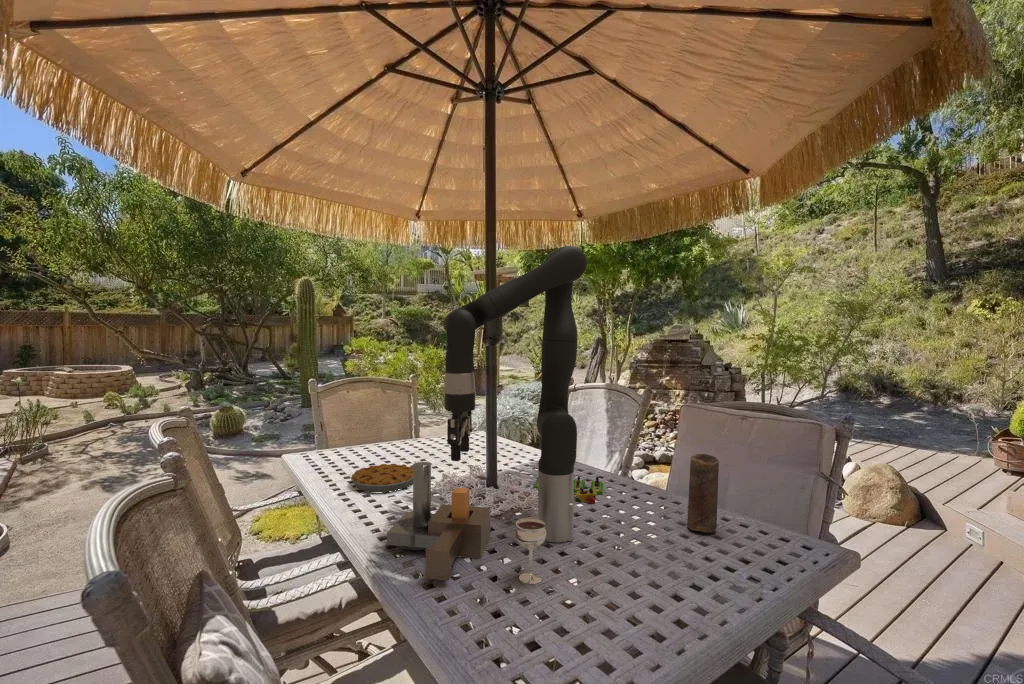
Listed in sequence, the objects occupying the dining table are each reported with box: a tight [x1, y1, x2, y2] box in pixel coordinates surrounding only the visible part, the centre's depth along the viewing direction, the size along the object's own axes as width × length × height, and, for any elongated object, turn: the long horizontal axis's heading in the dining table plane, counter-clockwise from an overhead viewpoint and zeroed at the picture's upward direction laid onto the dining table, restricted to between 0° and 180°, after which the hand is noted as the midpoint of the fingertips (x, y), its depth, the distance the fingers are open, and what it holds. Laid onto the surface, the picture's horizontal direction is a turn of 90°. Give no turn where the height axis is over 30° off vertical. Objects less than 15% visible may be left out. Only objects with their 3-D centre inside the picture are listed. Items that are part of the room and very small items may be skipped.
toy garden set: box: [532, 475, 604, 505], centre depth 158 cm, size 23×19×5 cm
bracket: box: [425, 504, 492, 581], centre depth 112 cm, size 13×24×8 cm, turn 171°
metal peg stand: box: [386, 461, 440, 551], centre depth 120 cm, size 14×14×20 cm
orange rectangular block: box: [451, 487, 470, 519], centre depth 119 cm, size 4×4×14 cm
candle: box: [686, 453, 720, 534], centre depth 129 cm, size 8×7×20 cm
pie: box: [350, 463, 413, 493], centre depth 165 cm, size 22×22×5 cm
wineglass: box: [515, 516, 546, 585], centre depth 104 cm, size 7×7×12 cm
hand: (460, 455), depth 118 cm, fingers open, 8 cm apart
